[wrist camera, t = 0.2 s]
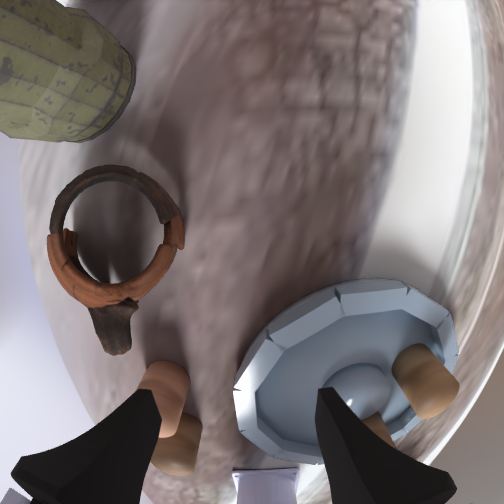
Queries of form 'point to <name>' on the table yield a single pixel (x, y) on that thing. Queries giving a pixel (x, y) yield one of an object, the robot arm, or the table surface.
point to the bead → (424, 380)
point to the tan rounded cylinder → (379, 427)
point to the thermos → (59, 73)
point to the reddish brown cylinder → (167, 392)
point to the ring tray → (336, 362)
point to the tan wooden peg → (179, 448)
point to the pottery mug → (119, 294)
